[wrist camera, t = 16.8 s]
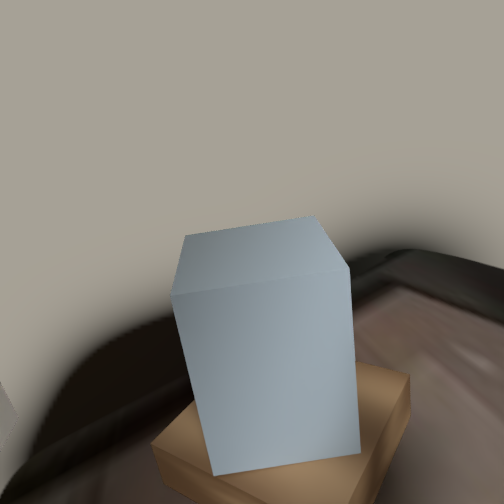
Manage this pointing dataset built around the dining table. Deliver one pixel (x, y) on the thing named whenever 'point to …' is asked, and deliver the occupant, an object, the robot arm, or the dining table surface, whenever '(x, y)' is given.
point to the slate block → (268, 344)
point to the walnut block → (299, 474)
